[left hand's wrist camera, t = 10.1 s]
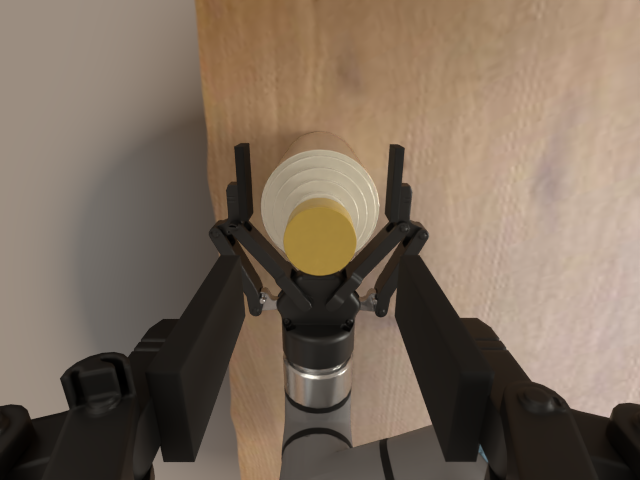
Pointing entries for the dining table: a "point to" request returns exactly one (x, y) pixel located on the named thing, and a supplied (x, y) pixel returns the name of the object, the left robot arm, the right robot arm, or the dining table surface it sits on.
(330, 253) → the cap
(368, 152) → the dining table surface
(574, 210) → the dining table surface
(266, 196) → the bottle
